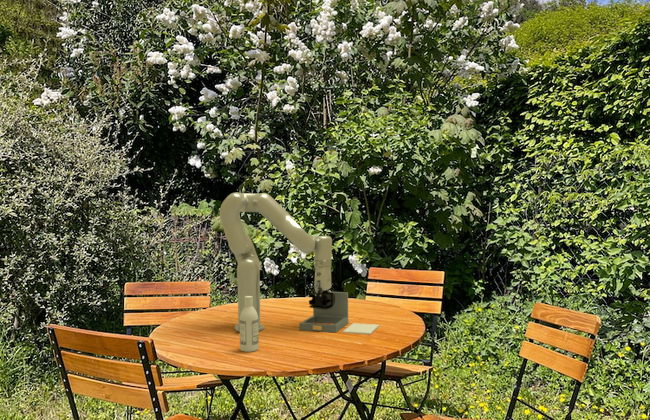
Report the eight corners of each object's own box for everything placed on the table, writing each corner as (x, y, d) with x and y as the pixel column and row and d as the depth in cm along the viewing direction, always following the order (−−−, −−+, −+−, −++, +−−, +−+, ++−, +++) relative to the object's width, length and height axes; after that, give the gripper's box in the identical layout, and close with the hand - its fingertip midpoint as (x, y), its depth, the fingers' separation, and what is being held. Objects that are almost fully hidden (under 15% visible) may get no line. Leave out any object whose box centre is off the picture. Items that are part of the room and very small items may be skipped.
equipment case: (335, 332, 228) (335, 299, 228) (299, 330, 234) (298, 298, 233) (348, 323, 247) (347, 292, 246) (314, 321, 252) (313, 291, 252)
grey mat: (370, 334, 225) (370, 333, 225) (342, 332, 229) (342, 331, 229) (379, 326, 240) (379, 324, 240) (353, 324, 244) (353, 323, 244)
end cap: (335, 307, 241) (335, 292, 240) (328, 309, 234) (328, 294, 234) (315, 304, 245) (315, 289, 245) (307, 307, 239) (308, 291, 239)
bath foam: (258, 346, 208) (258, 294, 207) (258, 351, 201) (257, 297, 201) (240, 347, 207) (239, 295, 207) (239, 352, 200) (238, 298, 200)
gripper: (324, 266, 230) (323, 308, 230) (336, 262, 246) (335, 301, 247) (307, 265, 232) (306, 306, 233) (321, 261, 249) (320, 300, 249)
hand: (321, 303), depth 240 cm, fingers closed on end cap, 7 cm apart
